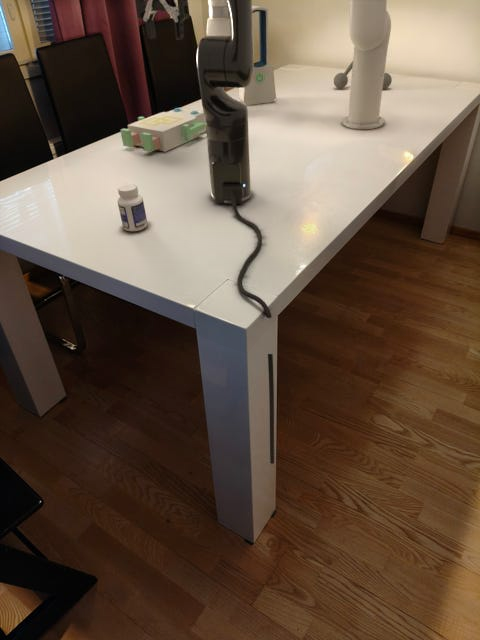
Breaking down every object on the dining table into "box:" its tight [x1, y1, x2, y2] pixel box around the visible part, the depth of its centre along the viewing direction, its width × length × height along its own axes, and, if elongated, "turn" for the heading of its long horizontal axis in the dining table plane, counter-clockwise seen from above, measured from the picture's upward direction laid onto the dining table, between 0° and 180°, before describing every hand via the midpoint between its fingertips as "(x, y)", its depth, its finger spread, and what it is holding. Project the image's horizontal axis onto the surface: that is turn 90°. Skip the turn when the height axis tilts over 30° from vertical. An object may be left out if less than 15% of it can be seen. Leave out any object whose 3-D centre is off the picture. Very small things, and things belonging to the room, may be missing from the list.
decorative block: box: [120, 107, 206, 153], centre depth 149 cm, size 26×6×20 cm
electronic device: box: [238, 5, 277, 106], centre depth 173 cm, size 12×8×30 cm, turn 105°
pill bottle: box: [117, 182, 148, 232], centre depth 102 cm, size 5×5×9 cm
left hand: (165, 39), depth 122 cm, fingers open, 8 cm apart
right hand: (224, 76), depth 162 cm, fingers closed on block, 4 cm apart
